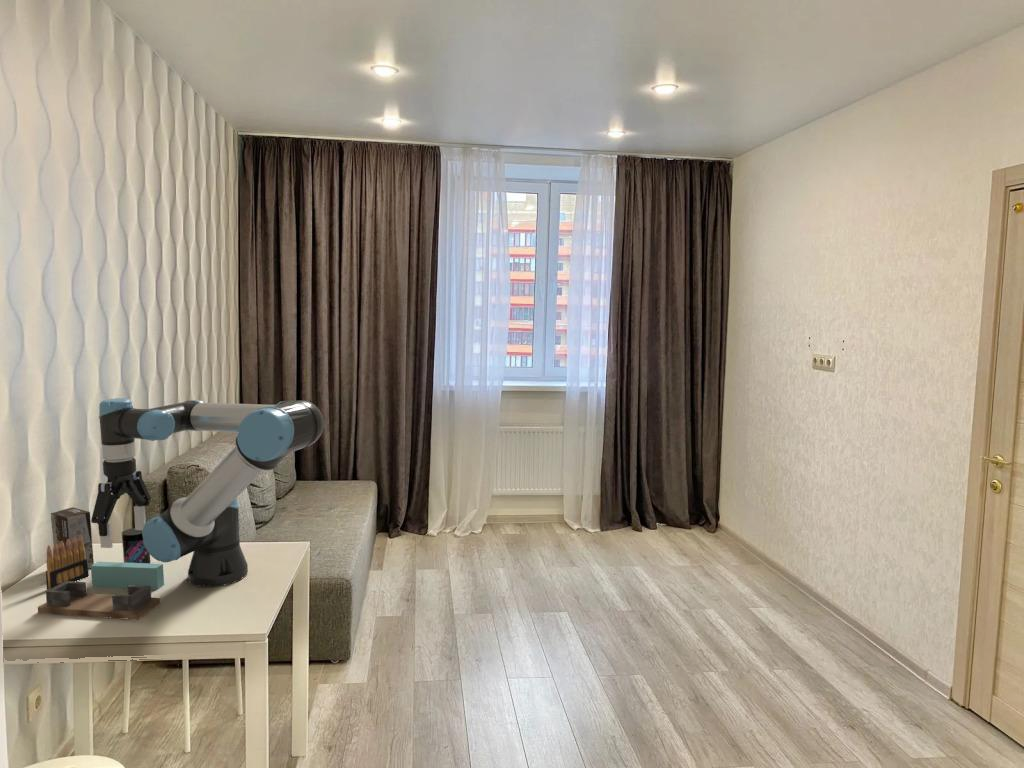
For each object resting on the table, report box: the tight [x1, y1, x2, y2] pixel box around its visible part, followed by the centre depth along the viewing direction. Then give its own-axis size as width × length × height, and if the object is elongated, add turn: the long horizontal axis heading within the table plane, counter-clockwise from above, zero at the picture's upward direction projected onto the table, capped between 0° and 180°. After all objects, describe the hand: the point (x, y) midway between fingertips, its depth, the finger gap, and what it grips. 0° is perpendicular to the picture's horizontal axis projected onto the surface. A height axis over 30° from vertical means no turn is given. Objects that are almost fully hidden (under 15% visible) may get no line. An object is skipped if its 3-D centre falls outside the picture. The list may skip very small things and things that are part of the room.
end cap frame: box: [37, 581, 161, 620], centre depth 180 cm, size 26×9×5 cm, turn 82°
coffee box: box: [50, 507, 95, 570], centre depth 205 cm, size 9×6×16 cm
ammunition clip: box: [45, 535, 90, 591], centre depth 195 cm, size 11×2×12 cm, turn 157°
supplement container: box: [121, 527, 152, 564], centre depth 206 cm, size 7×7×10 cm
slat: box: [90, 561, 165, 591], centre depth 194 cm, size 18×3×6 cm, turn 85°
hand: (124, 538), depth 192 cm, fingers open, 13 cm apart
